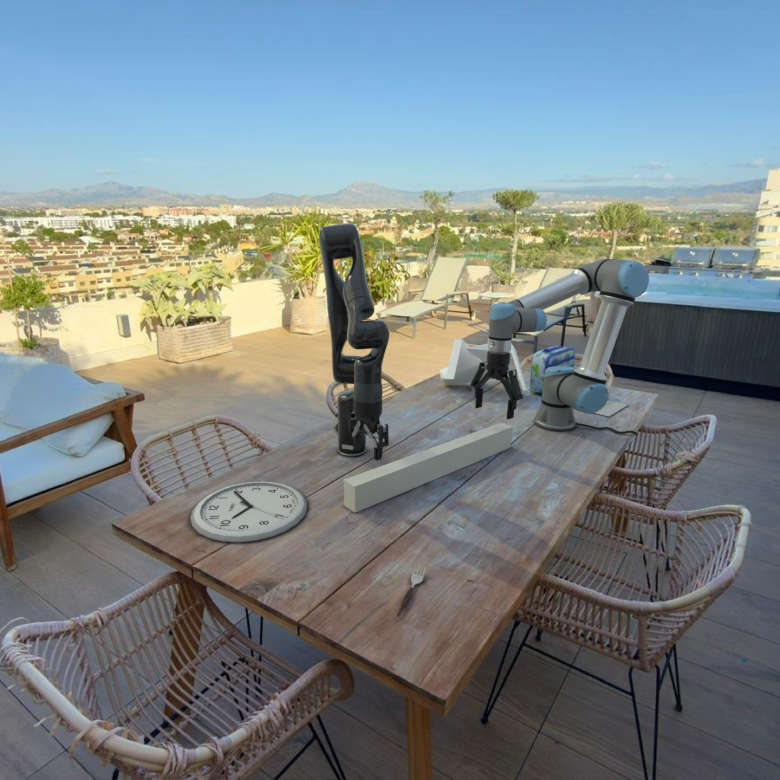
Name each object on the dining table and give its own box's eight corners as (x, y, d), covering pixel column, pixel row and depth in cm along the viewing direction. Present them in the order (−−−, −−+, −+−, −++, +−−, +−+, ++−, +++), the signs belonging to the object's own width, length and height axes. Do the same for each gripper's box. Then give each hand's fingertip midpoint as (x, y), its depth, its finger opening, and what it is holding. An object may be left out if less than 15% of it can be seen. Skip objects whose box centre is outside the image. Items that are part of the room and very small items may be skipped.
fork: (391, 616, 102) (391, 608, 102) (415, 569, 116) (416, 561, 116) (404, 620, 101) (404, 611, 101) (426, 571, 116) (427, 564, 115)
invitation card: (608, 416, 214) (573, 407, 224) (608, 416, 214) (573, 408, 224) (628, 404, 229) (594, 396, 238) (628, 405, 229) (594, 397, 238)
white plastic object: (461, 429, 252) (437, 405, 227) (444, 352, 274) (420, 323, 250) (535, 404, 240) (518, 377, 215) (510, 326, 262) (492, 293, 237)
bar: (499, 443, 186) (500, 422, 184) (510, 447, 182) (512, 426, 180) (343, 505, 143) (343, 479, 140) (355, 512, 139) (354, 486, 137)
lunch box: (546, 399, 235) (551, 353, 228) (525, 393, 242) (530, 349, 236) (574, 387, 252) (579, 345, 246) (553, 383, 260) (558, 341, 253)
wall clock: (302, 534, 126) (174, 538, 123) (303, 540, 126) (175, 544, 124) (310, 477, 154) (206, 479, 152) (310, 482, 155) (206, 484, 152)
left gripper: (340, 393, 139) (340, 449, 143) (374, 407, 128) (373, 467, 133) (362, 388, 143) (362, 442, 148) (396, 401, 133) (395, 459, 138)
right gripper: (462, 346, 178) (459, 405, 184) (523, 360, 159) (516, 425, 166) (477, 343, 182) (473, 401, 188) (538, 357, 164) (531, 420, 170)
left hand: (367, 454), depth 141 cm, fingers open, 8 cm apart
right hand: (493, 412), depth 177 cm, fingers open, 13 cm apart
